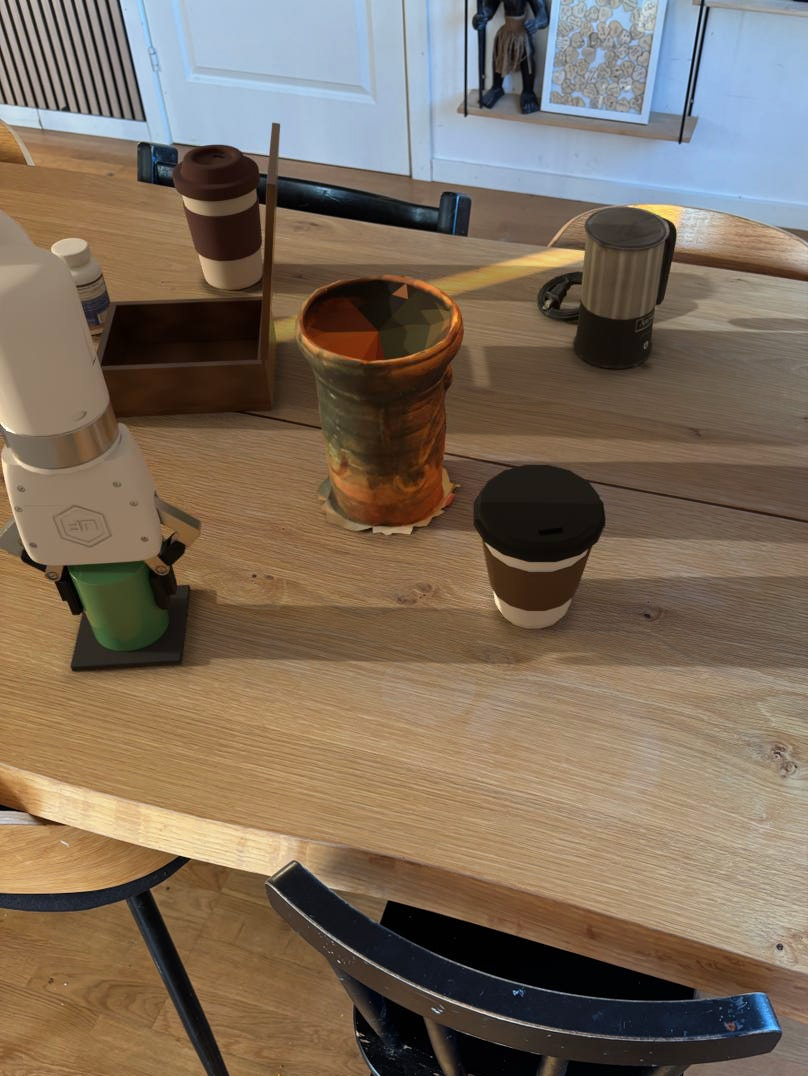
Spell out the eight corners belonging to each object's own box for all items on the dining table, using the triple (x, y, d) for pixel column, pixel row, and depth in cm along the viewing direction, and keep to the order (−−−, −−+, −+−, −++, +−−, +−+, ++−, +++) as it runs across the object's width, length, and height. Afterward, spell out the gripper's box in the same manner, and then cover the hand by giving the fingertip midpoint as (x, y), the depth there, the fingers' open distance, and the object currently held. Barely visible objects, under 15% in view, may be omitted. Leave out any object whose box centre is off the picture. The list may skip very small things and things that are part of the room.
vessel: (436, 558, 95) (431, 374, 80) (294, 526, 97) (264, 343, 82) (480, 465, 104) (484, 285, 89) (350, 439, 107) (333, 259, 92)
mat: (72, 671, 85) (69, 666, 85) (88, 594, 91) (87, 590, 90) (181, 664, 86) (179, 659, 85) (190, 588, 92) (189, 584, 91)
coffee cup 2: (608, 640, 88) (624, 538, 79) (485, 658, 87) (488, 556, 78) (574, 554, 95) (586, 452, 86) (460, 570, 94) (460, 468, 85)
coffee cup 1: (221, 305, 124) (197, 182, 112) (179, 274, 129) (153, 153, 117) (289, 279, 128) (273, 158, 117) (246, 249, 133) (227, 130, 122)
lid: (266, 183, 92) (275, 184, 92) (272, 122, 101) (280, 123, 101) (260, 359, 105) (267, 360, 105) (265, 291, 114) (272, 292, 114)
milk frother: (638, 378, 115) (657, 254, 104) (508, 347, 118) (513, 224, 107) (670, 316, 124) (691, 196, 113) (548, 290, 127) (557, 170, 116)
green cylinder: (88, 654, 85) (60, 587, 80) (99, 599, 90) (74, 532, 84) (165, 649, 86) (143, 582, 80) (173, 595, 90) (152, 528, 84)
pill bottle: (66, 317, 121) (41, 239, 114) (111, 308, 123) (89, 231, 116) (72, 340, 118) (47, 261, 111) (119, 331, 120) (97, 252, 112)
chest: (105, 417, 108) (91, 370, 104) (122, 347, 117) (110, 301, 113) (272, 410, 110) (264, 363, 105) (276, 341, 119) (269, 295, 114)
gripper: (-79, 465, 69) (8, 640, 83) (180, 453, 70) (224, 627, 84) (-52, 400, 74) (26, 575, 88) (189, 390, 75) (230, 564, 89)
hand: (123, 599), depth 86 cm, fingers closed on green cylinder, 6 cm apart
